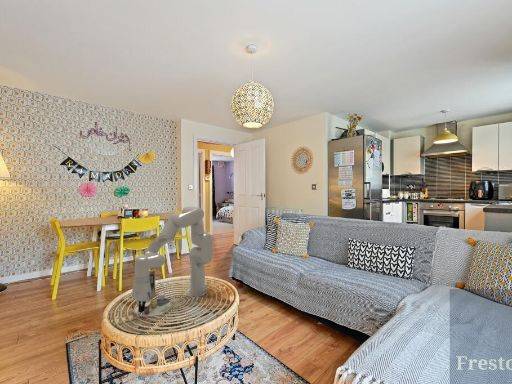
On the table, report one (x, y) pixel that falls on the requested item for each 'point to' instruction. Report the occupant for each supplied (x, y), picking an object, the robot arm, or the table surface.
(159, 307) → the dial plate
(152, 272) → the coffee box
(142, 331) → the table surface
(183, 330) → the table surface
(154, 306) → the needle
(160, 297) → the lock button
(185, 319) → the table surface
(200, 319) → the table surface
